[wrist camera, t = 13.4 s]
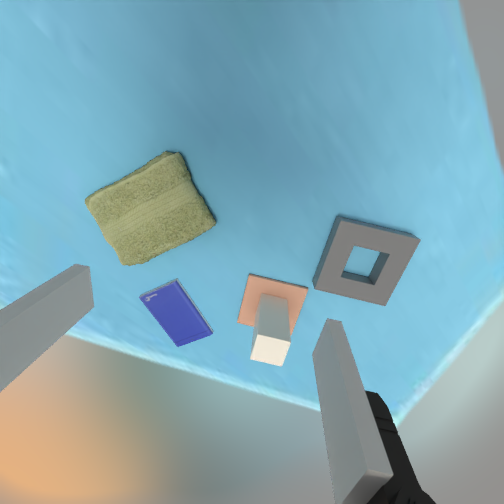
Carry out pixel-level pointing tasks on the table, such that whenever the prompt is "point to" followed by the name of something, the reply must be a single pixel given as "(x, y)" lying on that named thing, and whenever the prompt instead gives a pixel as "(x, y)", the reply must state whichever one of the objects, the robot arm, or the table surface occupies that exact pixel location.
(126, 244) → the washcloth
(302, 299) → the pad
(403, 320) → the table surface
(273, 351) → the plug
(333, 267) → the gray square ring
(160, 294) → the hard drive
